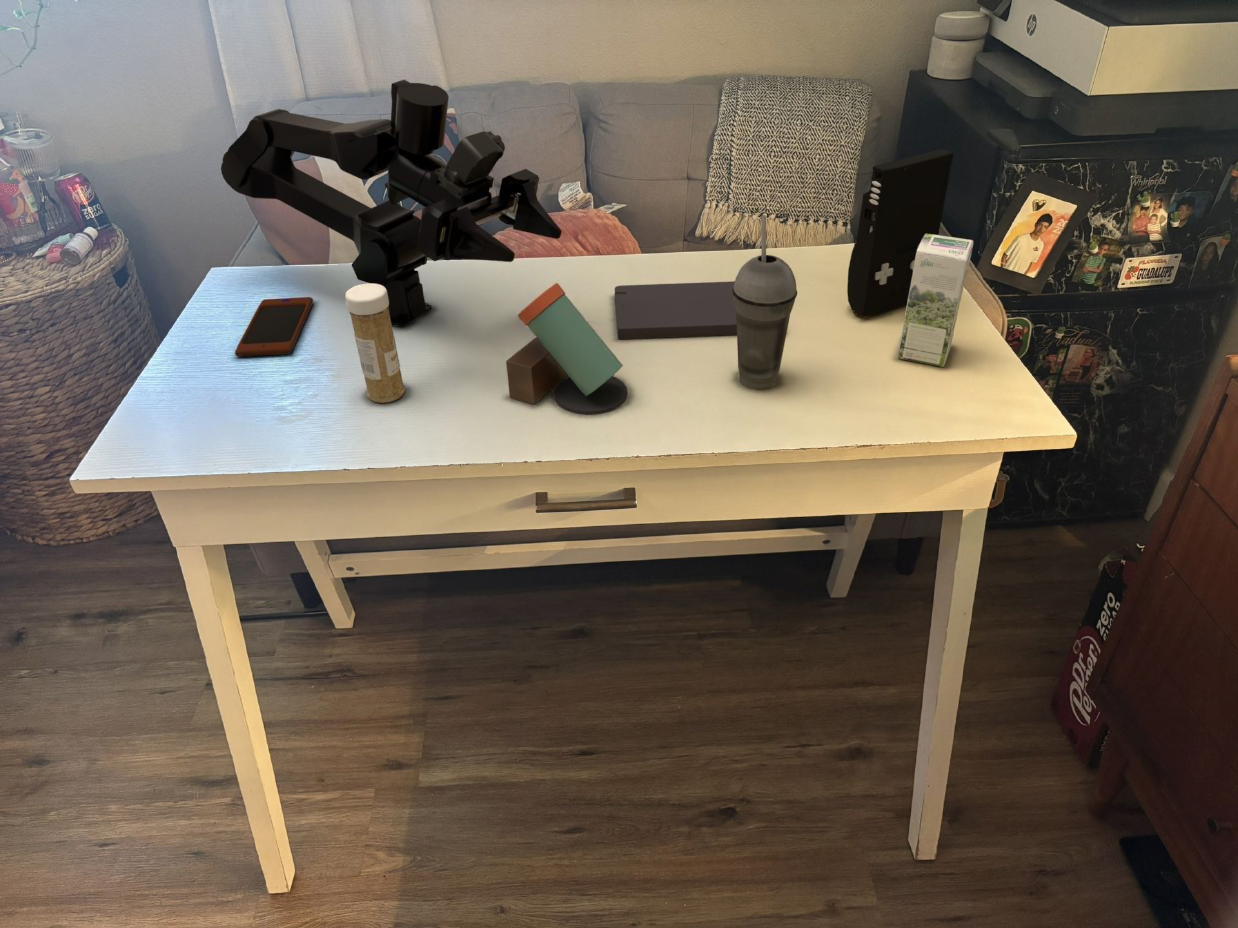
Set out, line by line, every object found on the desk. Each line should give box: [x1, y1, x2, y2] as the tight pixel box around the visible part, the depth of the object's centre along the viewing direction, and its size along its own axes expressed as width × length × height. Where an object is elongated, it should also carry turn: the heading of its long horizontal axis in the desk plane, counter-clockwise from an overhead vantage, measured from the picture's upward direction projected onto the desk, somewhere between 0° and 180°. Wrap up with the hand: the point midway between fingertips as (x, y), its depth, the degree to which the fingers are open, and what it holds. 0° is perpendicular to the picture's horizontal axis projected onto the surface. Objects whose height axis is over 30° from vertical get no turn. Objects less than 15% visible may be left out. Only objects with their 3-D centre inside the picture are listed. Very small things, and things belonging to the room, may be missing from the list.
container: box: [517, 282, 623, 396], centre depth 107 cm, size 12×6×12 cm, turn 61°
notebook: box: [614, 280, 737, 340], centre depth 125 cm, size 13×2×21 cm
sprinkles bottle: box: [344, 283, 406, 404], centre depth 107 cm, size 5×5×14 cm
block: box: [505, 336, 569, 405], centre depth 111 cm, size 4×10×5 cm, turn 151°
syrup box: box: [897, 234, 974, 368], centre depth 111 cm, size 6×6×14 cm
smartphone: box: [234, 296, 314, 357], centre depth 124 cm, size 7×1×15 cm
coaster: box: [553, 375, 628, 415], centre depth 110 cm, size 9×9×1 cm
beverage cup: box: [732, 214, 798, 390], centre depth 106 cm, size 7×7×20 cm
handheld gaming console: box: [846, 148, 955, 318], centre depth 121 cm, size 12×5×20 cm, turn 120°
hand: (537, 246), depth 107 cm, fingers open, 9 cm apart
